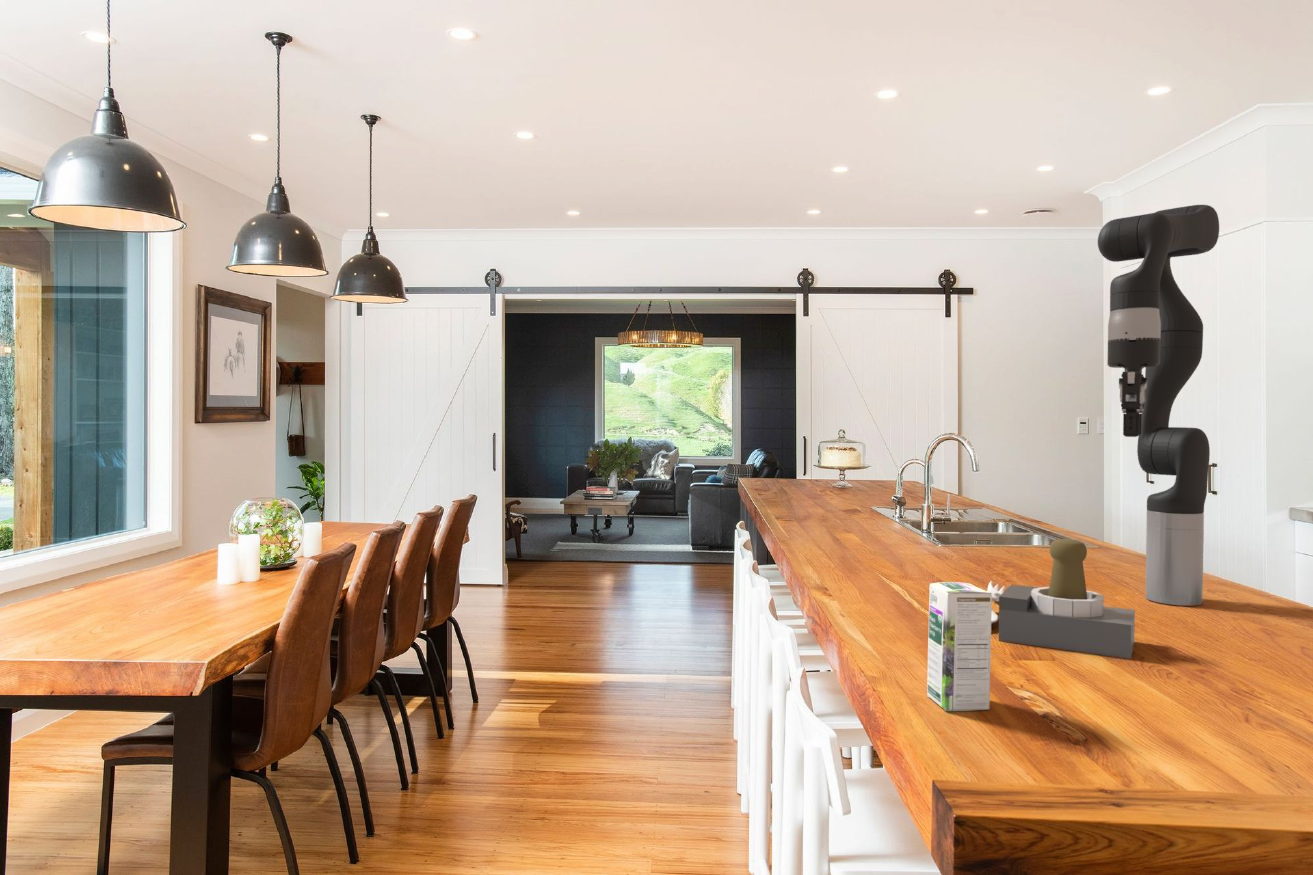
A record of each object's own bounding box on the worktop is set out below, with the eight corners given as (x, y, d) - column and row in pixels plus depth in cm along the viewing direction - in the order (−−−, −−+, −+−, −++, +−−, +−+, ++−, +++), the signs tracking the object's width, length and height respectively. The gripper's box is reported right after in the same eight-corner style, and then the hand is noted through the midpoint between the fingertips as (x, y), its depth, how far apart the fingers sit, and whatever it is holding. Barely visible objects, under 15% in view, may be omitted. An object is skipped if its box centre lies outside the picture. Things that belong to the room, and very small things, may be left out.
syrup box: (925, 695, 103) (926, 581, 102) (970, 694, 103) (971, 581, 103) (945, 712, 97) (946, 591, 96) (992, 710, 97) (993, 590, 97)
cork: (1095, 614, 124) (1095, 543, 124) (1052, 612, 125) (1053, 542, 125) (1081, 605, 130) (1082, 537, 130) (1041, 604, 131) (1042, 536, 131)
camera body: (1010, 625, 137) (1011, 581, 137) (1134, 641, 127) (1135, 593, 127) (998, 640, 128) (999, 593, 128) (1130, 659, 118) (1131, 607, 118)
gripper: (1110, 342, 142) (1109, 435, 142) (1104, 335, 130) (1103, 436, 130) (1161, 340, 138) (1159, 435, 138) (1159, 332, 126) (1158, 437, 126)
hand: (1132, 436), depth 134 cm, fingers open, 8 cm apart
